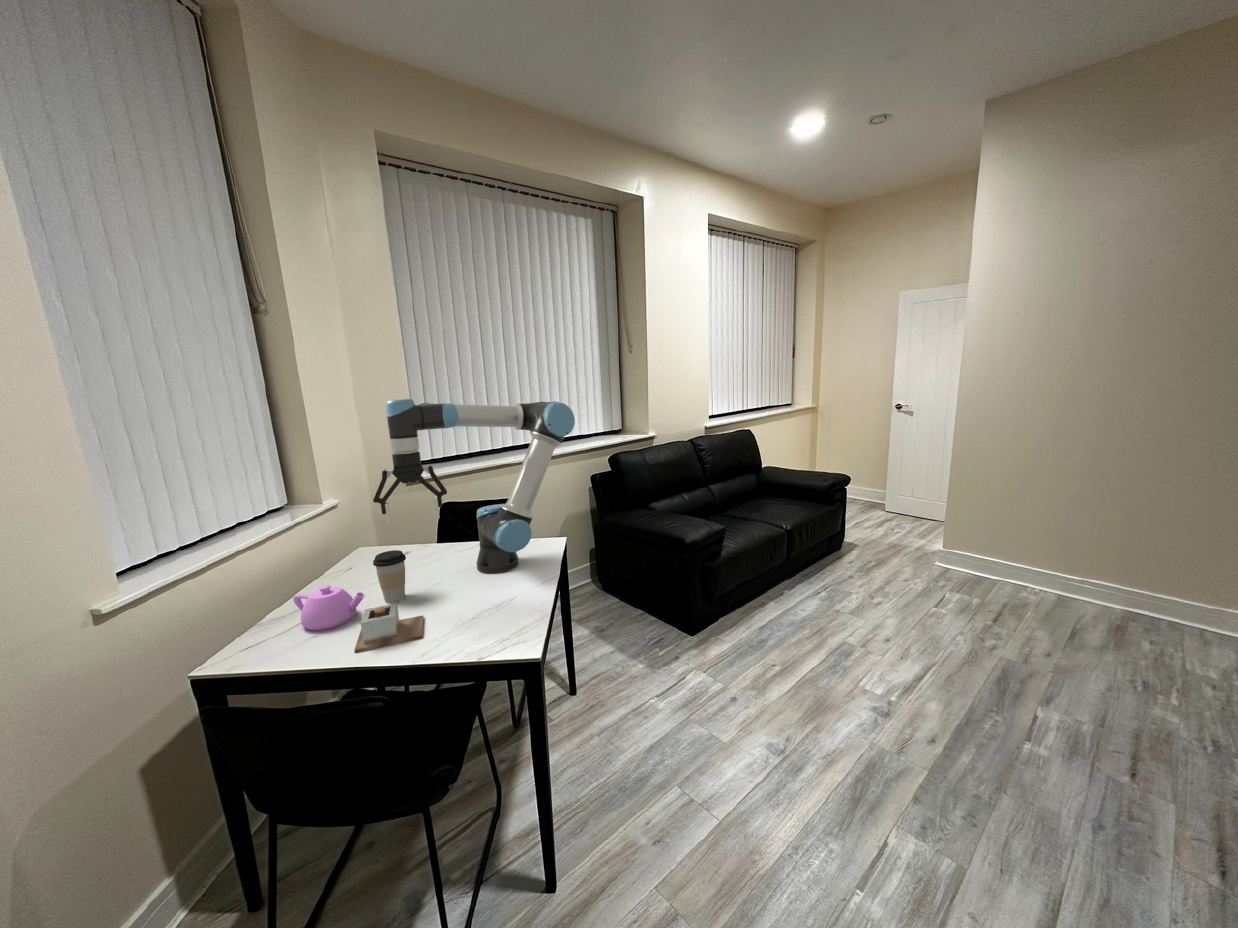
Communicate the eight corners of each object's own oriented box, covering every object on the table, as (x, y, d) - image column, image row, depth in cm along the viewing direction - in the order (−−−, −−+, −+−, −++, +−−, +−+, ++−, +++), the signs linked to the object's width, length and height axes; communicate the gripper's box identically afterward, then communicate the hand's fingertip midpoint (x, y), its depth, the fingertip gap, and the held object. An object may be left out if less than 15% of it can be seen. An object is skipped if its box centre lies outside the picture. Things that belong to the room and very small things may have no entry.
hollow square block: (399, 622, 130) (397, 603, 129) (397, 636, 123) (394, 616, 122) (368, 629, 128) (365, 609, 127) (363, 643, 120) (360, 622, 119)
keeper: (423, 617, 135) (420, 592, 133) (422, 638, 123) (418, 611, 122) (362, 630, 129) (358, 604, 128) (354, 652, 118) (350, 624, 116)
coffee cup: (398, 606, 142) (391, 561, 139) (371, 605, 144) (365, 559, 141) (417, 593, 151) (411, 549, 148) (392, 591, 153) (386, 548, 150)
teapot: (355, 630, 129) (350, 595, 127) (282, 634, 128) (276, 599, 126) (378, 607, 143) (374, 574, 141) (312, 610, 142) (307, 578, 140)
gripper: (450, 446, 143) (457, 511, 147) (360, 454, 135) (370, 523, 139) (450, 449, 137) (458, 518, 140) (356, 457, 128) (366, 530, 132)
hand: (414, 520), depth 139 cm, fingers open, 13 cm apart
